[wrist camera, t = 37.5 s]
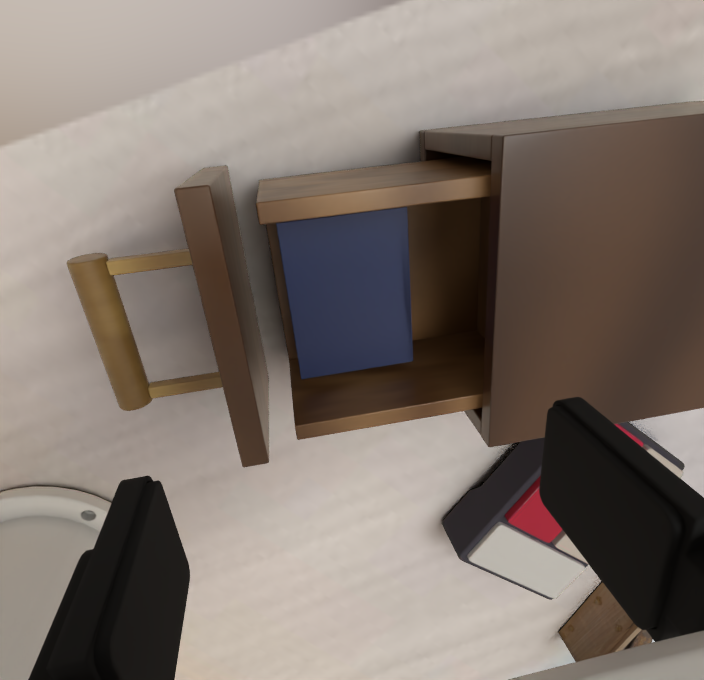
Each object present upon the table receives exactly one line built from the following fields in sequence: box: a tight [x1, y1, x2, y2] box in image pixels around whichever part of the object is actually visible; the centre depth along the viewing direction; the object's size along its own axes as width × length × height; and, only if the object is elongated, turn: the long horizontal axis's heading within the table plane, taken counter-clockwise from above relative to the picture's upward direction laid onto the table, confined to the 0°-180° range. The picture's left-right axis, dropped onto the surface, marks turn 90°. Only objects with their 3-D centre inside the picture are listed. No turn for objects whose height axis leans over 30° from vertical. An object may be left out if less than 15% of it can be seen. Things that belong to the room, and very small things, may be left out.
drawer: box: [67, 156, 492, 467], centre depth 22 cm, size 20×12×8 cm, turn 95°
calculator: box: [442, 422, 684, 599], centre depth 35 cm, size 11×4×15 cm
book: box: [276, 207, 413, 379], centre depth 23 cm, size 8×6×3 cm
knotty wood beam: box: [559, 582, 653, 662], centre depth 45 cm, size 14×4×9 cm
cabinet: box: [419, 101, 704, 447], centre depth 24 cm, size 16×13×10 cm
